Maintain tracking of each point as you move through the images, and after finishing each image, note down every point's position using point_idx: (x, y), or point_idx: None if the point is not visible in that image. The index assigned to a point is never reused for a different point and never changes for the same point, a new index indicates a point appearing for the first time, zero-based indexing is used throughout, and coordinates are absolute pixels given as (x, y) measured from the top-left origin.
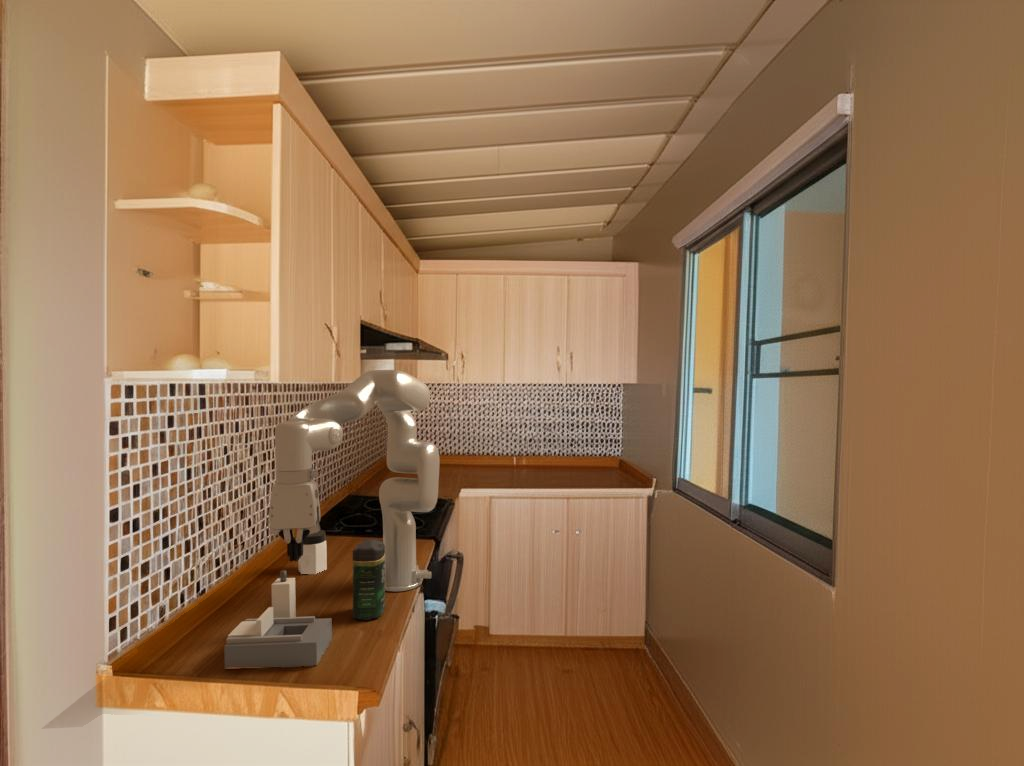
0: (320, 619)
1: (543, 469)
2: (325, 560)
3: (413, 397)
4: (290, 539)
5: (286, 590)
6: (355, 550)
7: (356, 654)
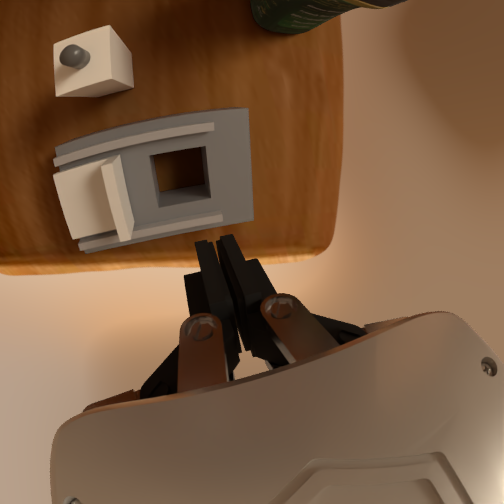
0: (223, 114)
1: None
2: None
3: None
4: (234, 377)
5: (106, 82)
6: None
7: (296, 164)
